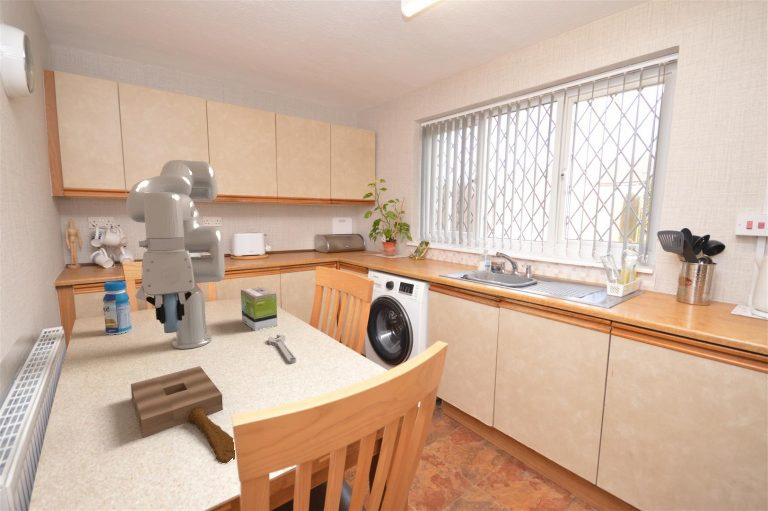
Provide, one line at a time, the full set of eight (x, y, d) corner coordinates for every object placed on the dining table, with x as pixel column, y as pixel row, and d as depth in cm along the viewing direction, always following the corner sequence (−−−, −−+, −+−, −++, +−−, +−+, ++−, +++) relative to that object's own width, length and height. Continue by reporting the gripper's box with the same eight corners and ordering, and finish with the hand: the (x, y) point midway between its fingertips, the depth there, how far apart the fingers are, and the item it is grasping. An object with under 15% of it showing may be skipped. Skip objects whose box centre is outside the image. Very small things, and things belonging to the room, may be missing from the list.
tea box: (241, 322, 148) (239, 289, 146) (263, 317, 155) (262, 286, 153) (254, 331, 137) (253, 295, 135) (278, 326, 144) (277, 292, 142)
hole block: (131, 398, 87) (130, 384, 86) (200, 379, 97) (199, 365, 97) (143, 437, 72) (141, 420, 72) (222, 409, 83) (222, 394, 82)
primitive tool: (249, 452, 69) (249, 436, 68) (223, 468, 64) (222, 451, 64) (203, 417, 80) (203, 403, 80) (178, 429, 76) (177, 414, 75)
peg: (163, 330, 82) (160, 290, 81) (177, 328, 84) (174, 288, 83) (165, 334, 80) (162, 292, 79) (180, 331, 82) (177, 290, 81)
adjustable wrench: (297, 364, 109) (297, 359, 109) (277, 368, 106) (276, 362, 106) (284, 337, 131) (283, 333, 131) (266, 340, 129) (266, 336, 128)
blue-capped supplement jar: (131, 332, 133) (127, 282, 131) (104, 336, 129) (99, 285, 126) (132, 326, 140) (128, 279, 138) (106, 330, 136) (102, 281, 133)
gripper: (124, 248, 72) (130, 332, 74) (208, 244, 83) (211, 318, 85) (120, 245, 77) (127, 324, 79) (200, 242, 88) (203, 311, 90)
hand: (170, 320), depth 82 cm, fingers closed on peg, 3 cm apart
